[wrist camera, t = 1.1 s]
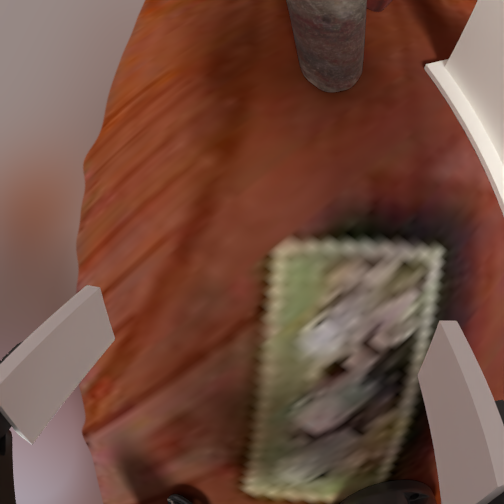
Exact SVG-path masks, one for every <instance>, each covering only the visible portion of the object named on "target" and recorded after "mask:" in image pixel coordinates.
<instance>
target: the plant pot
mask: <svg viewBox="0 0 504 504" xmlns="http://www.w3.org/2000/svg"><path fill="white" fill-rule="evenodd" d="M391 1H392V0H367V6H366V8H368V9H370V10H372V11H375V12H380V11H382V10H383V9H384V8H385V7H386V6H387V5H388V4H389V3H390V2H391Z"/></svg>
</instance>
